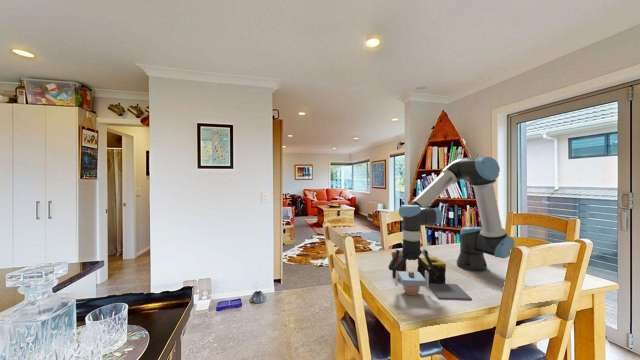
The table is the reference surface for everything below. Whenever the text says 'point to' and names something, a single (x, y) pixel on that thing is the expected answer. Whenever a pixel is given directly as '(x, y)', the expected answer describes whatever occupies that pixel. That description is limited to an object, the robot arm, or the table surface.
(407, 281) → the lid
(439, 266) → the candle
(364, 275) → the table surface
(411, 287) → the bowl
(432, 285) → the mat
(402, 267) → the mug
